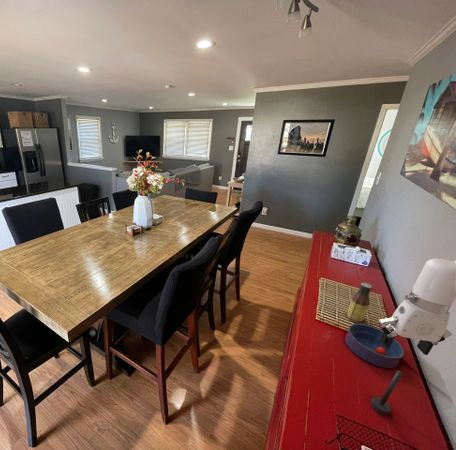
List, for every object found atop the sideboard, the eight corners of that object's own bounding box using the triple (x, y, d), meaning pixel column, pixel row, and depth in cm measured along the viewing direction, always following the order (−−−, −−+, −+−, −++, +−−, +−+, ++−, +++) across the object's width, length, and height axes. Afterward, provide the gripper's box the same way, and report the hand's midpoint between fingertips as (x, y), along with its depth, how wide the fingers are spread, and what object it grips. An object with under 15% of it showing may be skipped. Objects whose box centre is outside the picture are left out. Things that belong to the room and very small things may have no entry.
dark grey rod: (392, 414, 77) (415, 377, 71) (380, 416, 76) (403, 380, 70) (377, 399, 81) (397, 363, 75) (366, 401, 81) (386, 366, 74)
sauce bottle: (364, 322, 115) (380, 288, 107) (356, 325, 113) (371, 291, 105) (350, 313, 120) (364, 280, 113) (342, 316, 118) (355, 282, 111)
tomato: (386, 356, 97) (389, 351, 96) (380, 357, 96) (383, 352, 95) (378, 350, 99) (381, 345, 98) (372, 351, 99) (375, 346, 98)
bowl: (408, 365, 94) (415, 354, 92) (374, 372, 91) (380, 361, 88) (365, 331, 109) (370, 321, 107) (335, 336, 106) (339, 326, 104)
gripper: (401, 305, 64) (377, 352, 70) (480, 317, 61) (448, 364, 67) (382, 288, 71) (362, 332, 77) (453, 298, 67) (426, 343, 74)
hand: (402, 347), depth 72 cm, fingers open, 9 cm apart
